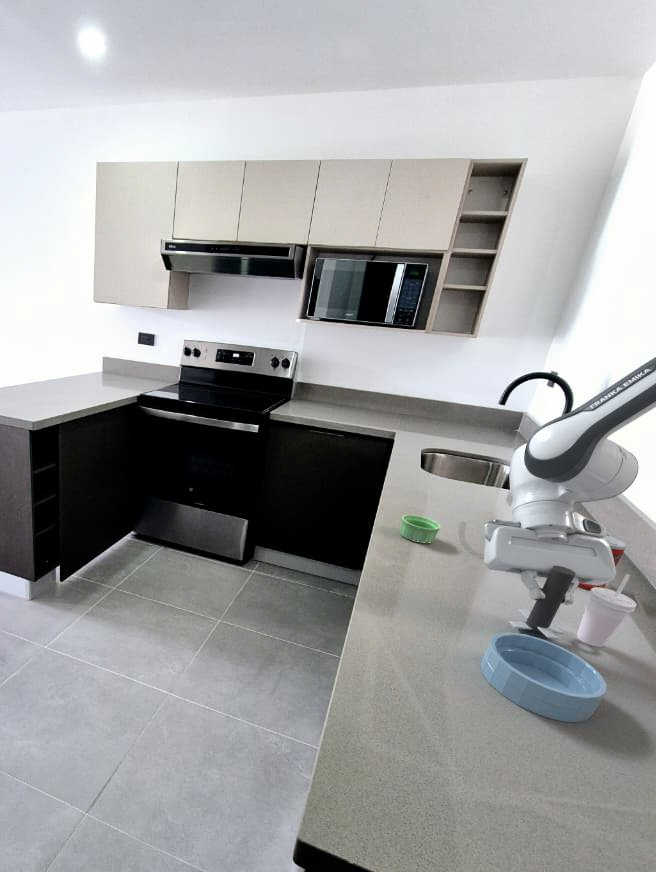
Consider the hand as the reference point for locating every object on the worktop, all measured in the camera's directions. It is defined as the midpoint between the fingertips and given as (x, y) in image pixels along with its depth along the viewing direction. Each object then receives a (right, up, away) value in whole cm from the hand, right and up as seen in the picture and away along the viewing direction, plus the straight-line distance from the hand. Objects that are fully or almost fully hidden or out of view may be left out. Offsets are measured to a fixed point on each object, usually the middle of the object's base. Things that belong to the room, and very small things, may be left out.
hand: (552, 601), depth 84 cm
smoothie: (+10, -8, +5) cm, 14 cm away
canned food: (+28, 0, +29) cm, 40 cm away
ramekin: (-3, +10, +42) cm, 43 cm away
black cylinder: (-1, -6, +4) cm, 7 cm away
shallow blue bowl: (-10, -12, -9) cm, 18 cm away
